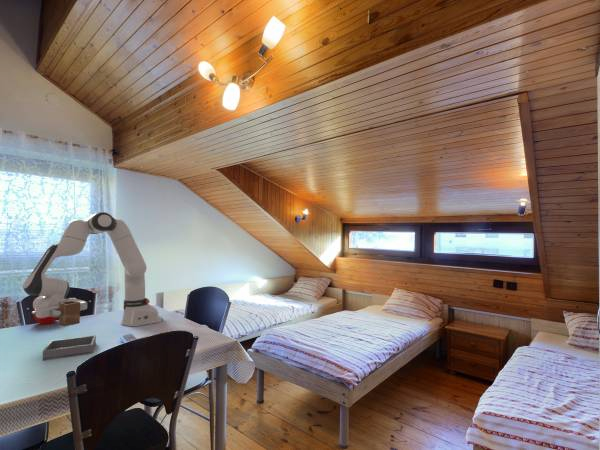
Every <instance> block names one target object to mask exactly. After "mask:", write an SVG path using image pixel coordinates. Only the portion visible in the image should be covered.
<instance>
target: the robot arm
mask: <svg viewBox="0 0 600 450" xmlns="http://www.w3.org/2000/svg"><path fill="white" fill-rule="evenodd" d="M102 233H106V234H107V235H108V236H109V238H110V240H111V242H112V245H113V246H114V248H115V250H116V251H115V252H116V253H117V255H118V257H119V259H120V262H121V263H122V266H123V268H124V299H123V302H122V303H123V305H122V306H123V313H122V320H121V323H120V324H121V325H122V326H127V327H128V326H129V327H138V326H139V327H140V326H145V325H151V324H157V323H161V322H162V321H163V316H161V315H159V312H158V310H157V308H156V307H154V306H152V305H151V304H150V299H149V298H148V297H146V280H145V273H146V271H147V264H146V262H145V259H144V257H143V255H142V253H141V251H140V250H139V247H138V245H137V243H136V241H135V239H134V236H133V234H132V232H131V230H130V228H129V226H128V225H127V224H126V222H125V221H124V220H122V219H116V218H115V217H113V216H112V215H111V214H109V213H108V212H105V211H101V212H100V211H99V212H96V213H94V214H91V215H90V216H88V217H86V218H85V219H84V220H83V219H73V220H71V221H70V222H69V223H68V225H67V226H66V228H65V230H64V232H63V233H62V236H61V238H60V239H59V241H58V242H56V243H55V244H51V245H50V246H49V247H48V248H47V250H46V251H45V253H43V256H42V257H41V258H40V260H39V261H38V262H37V265H36V266H35V267H34V269H33V270H32V272H30V274H29V276H27V278H26V279H25V281H24V282H23V284H22V285H23V286H22V289H23V291H24V292H25V293H26V294H27V295H28V296H38V297H36V298H34V300H33V302H32V308H33V307H34V309H35V310H34V311H33V310H32V311H31V314H32V315H34V314H36V317H38V318H45V317H50V316H51V317H57V318H59V315H63V311H62V310H60V311H59V303H62V302H68V301H77V302H80V312H81V311H85V310H87V309H88V302H87V301H85V300H81V299H77V298H76V297H68V296H69V295H68V294H69V293H70V284H69V282H68V280H66V279H63V278H58V277H52V276H47V275H45V274H46V272H47V271H48V269H49V267H50V266H51V265H52V263H53V262H54V260H55V259H57V258H61V257H71V256H75V255H78V254H80V253H82V251H83V250H84V247H85V246H86V243H87V240H88V238H89V236H90V235H97V234H102Z"/></svg>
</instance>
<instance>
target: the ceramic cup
mask: <svg viewBox="0 0 600 450" xmlns="http://www.w3.org/2000/svg"><path fill="white" fill-rule="evenodd" d="M34 310H35V309H34V307H33V306H32V311H34ZM33 318H34V320H35V321H36V322H37V323H38V324H39V325H49V324H53V323H54V322H55V321H56V320H57V319H58V317H51V316H50V317H45V318H38V317H36V314H33Z"/></svg>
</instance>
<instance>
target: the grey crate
mask: <svg viewBox="0 0 600 450" xmlns="http://www.w3.org/2000/svg"><path fill="white" fill-rule="evenodd" d="M96 337H97V334H96V335H86V336H81V337H73V338H72V337H70V338H64V339H63V338H61V339H56V340H55V339H54V340H50V341H49V342H48V343H47V345H46V346H45V347H44V349H42V361H48V360H56V359H63V358H70V357H77V356H83V355H90V354H93V352H94V349H95V347H96V344H97V343H96V342H97V338H96Z"/></svg>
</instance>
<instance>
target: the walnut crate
mask: <svg viewBox="0 0 600 450" xmlns="http://www.w3.org/2000/svg"><path fill="white" fill-rule="evenodd" d="M60 310H62V311H63V315H59V317H58V325H59V326H62V327H69V326H75V325H78V324H80V322H81V311H80V302H77V301H68V302H62V303H59V311H60Z"/></svg>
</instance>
